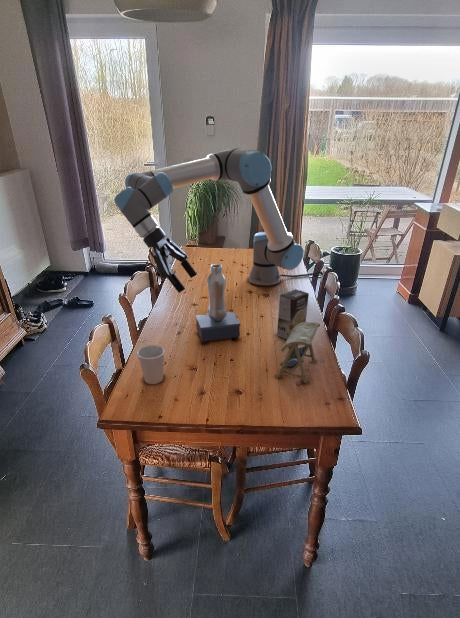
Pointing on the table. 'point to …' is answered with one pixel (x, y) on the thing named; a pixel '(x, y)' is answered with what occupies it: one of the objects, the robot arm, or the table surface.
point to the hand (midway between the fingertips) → (188, 283)
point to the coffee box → (291, 311)
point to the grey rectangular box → (218, 327)
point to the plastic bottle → (216, 293)
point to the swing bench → (297, 354)
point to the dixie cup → (151, 363)
